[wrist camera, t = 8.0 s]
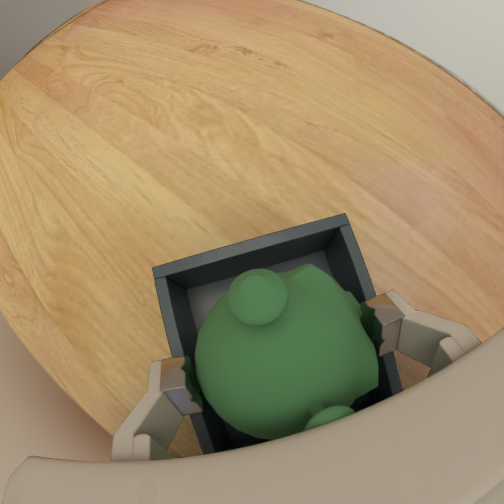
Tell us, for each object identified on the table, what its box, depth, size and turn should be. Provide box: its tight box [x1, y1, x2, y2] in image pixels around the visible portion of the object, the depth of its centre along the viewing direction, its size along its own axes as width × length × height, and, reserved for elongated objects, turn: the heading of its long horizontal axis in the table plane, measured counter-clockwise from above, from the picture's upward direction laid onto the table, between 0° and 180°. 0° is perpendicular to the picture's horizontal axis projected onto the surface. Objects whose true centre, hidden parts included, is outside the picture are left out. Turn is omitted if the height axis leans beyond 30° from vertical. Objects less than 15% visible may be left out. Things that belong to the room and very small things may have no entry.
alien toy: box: [195, 264, 378, 440], centre depth 11 cm, size 7×8×10 cm
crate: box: [152, 213, 403, 455], centre depth 14 cm, size 11×10×4 cm
